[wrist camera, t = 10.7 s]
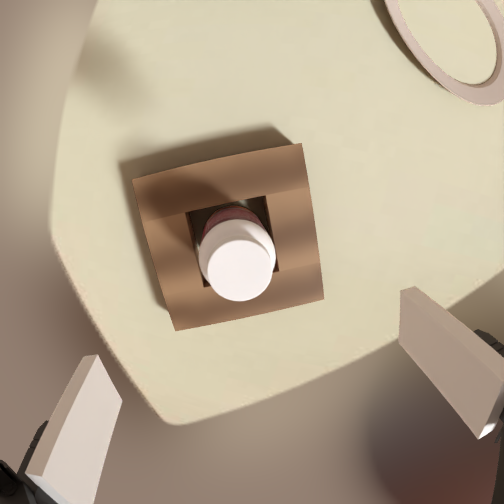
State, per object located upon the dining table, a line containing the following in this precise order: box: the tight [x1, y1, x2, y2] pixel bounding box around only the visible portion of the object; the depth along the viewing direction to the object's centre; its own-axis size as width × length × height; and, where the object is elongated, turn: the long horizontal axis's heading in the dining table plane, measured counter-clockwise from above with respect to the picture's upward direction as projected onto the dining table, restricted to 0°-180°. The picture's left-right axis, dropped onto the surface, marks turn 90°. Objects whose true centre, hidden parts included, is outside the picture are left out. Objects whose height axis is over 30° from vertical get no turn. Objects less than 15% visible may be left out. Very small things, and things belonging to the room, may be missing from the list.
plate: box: [384, 0, 504, 106], centre depth 26 cm, size 26×26×2 cm
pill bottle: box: [199, 206, 276, 301], centre depth 27 cm, size 6×6×11 cm
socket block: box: [132, 143, 324, 331], centre depth 31 cm, size 16×16×3 cm
